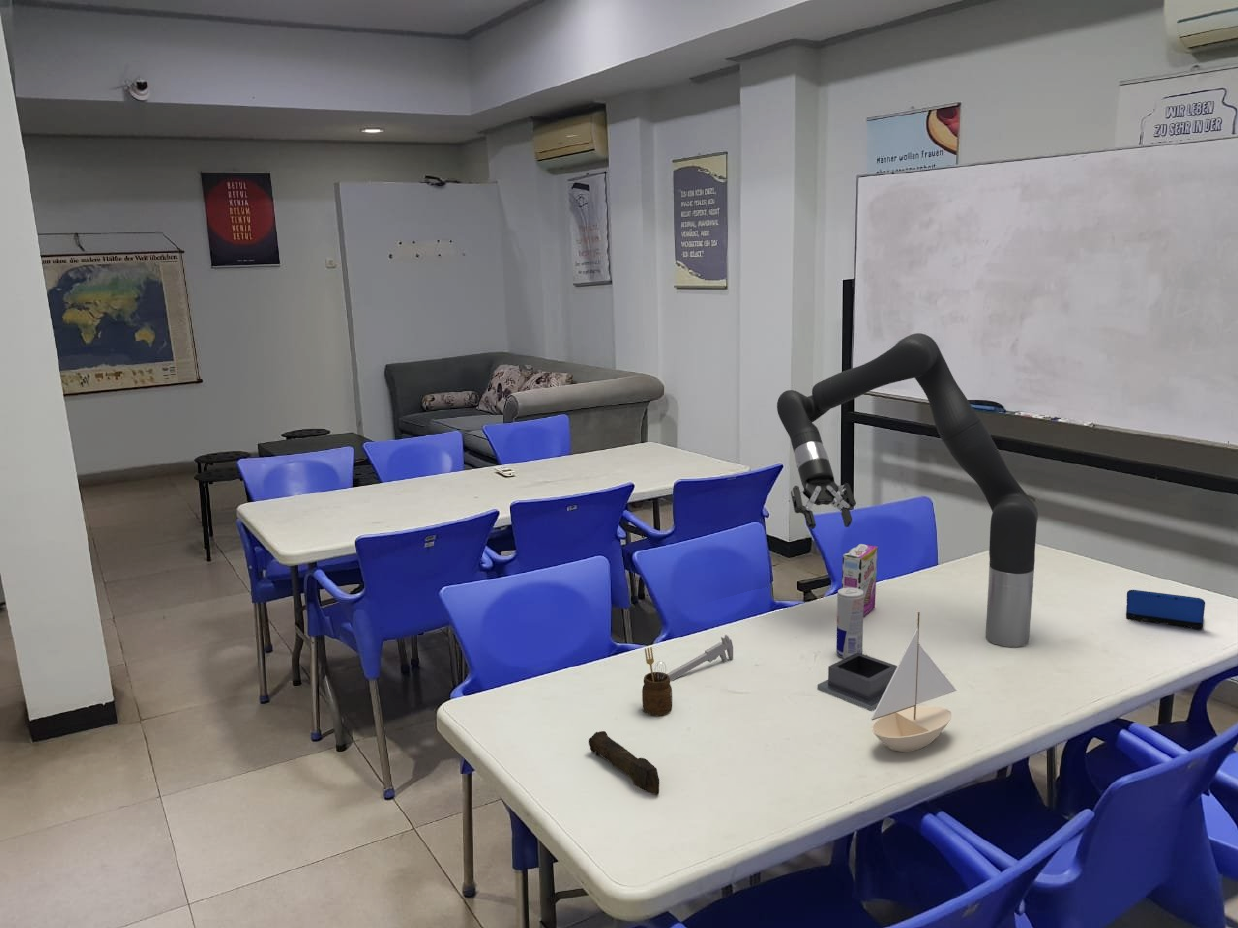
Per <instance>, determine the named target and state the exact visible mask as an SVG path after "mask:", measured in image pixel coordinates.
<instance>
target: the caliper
mask: <svg viewBox="0 0 1238 928" xmlns="http://www.w3.org/2000/svg"><path fill="white" fill-rule="evenodd" d="M720 639H721V642H718V643H716V644H715V645H712V646H711V647H709V648H707V649H705V650H704V652H703V653H701V654H700V655H698V656H696V657H694V658H692V659H690V660H689V661H687V662H686V663H683V664H681V665H680V666H678V667H677V668H675V669H673V670H671V671H669V672H666V674H668V675H669V677H670V682H672V681H674V680H675V679H677V678H679V677H681V676H683V675H684V674H686V673H687V672H690V671H691V670H693V669H695V668H696V667H699V666H701V665H702V664H703V663H705V662H709V663H712V662H713V661H715V660H716V659H717V658H719V657H720V659H721V661H722V662H724V663H728V660H731V661H733V659H734V645H733V641H732V639H731V638H730V637H729V635H728V634H725V635H724V637H722V636H721V637H720ZM726 653H727V654H726ZM727 657H728V658H727ZM727 659H728V660H727Z"/></svg>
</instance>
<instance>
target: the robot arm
mask: <svg viewBox="0 0 1238 928" xmlns="http://www.w3.org/2000/svg"><path fill="white" fill-rule="evenodd" d="M911 379H914V380H915V381H916V382H917V383H918V385H919V386H920V388H921V390H922V391H923V392H924V394H925V397H926V398H927V401H928V404H929V406H930V410H931V414H932V418H933V421H934V424H935V428H936V430H937V433H938V435H939V436H940V439H941V441H942V442H943V444H944V445H945V447H946V449H947V450H948V452H949V453H950V455H951V456H952V457H953V459H954V460H955V462H956V463H957V464H958V465H959V466H960V467H961V469H963V470H964V472H965V473H967V474H968V476H969V477H971V478H972V480H973V481H975V483H976V484H977V485H978V487H979V489H980V491H981V493H982V494H983V495H984V497H985V498H986V501H987V503H988V505H989V507H990V510H991V512H992V514H991V519H990V528H989V547H988V549H989V552H988V555H989V563H988V564H989V566H988V585H987V586H988V587H987V588H988V589H987V601H986V602H987V603H986V619H985V622H986V623H985V635H984V636H985V639H986V640H987V641H988V642H989V643H992V644H994V645H998V646H1002V647H1007V648H1009V647H1010V648H1019V647H1024V646H1027V645H1029V643H1030V637H1031V624H1032V623H1031V621H1032V610H1033V609H1032V608H1033V606H1032V605H1033V592H1034V591H1033V589H1034V573H1035V560H1036V559H1035V557H1036V555H1035V554H1036V553H1035V552H1036V539H1037V538H1036V537H1037V525H1038V519H1039V516H1038V515H1039V514H1038V513H1039V512H1038V509H1037V507H1036V505H1035V503H1034V502H1033V501H1032V499H1031V498H1030V497H1029V496H1028V494H1027V492H1025V491H1024V489H1023V488H1022V487H1021V485H1020V484H1019V482H1018V481H1017V480H1016V479H1015V477H1014V476H1013V475H1012V473H1011V472H1010V470H1009V469H1008V465H1006V463H1005V461H1004V458H1003V457H1002V455H1001V452H1000V451H999V449H998V447H997V445H996V443H995V441H994V440H993V438H992V436H991V434H990V433H989V430H988V429H987V428H986V426H985V425H984V423H983V421H982V419H981V418H980V416H979V415H978V414H977V412H976V411H975V409H974V407H973V406H972V404H971V402H970V401H969V400H968V398H967V397H966V395H965V394H964V392H963V390H962V389H961V387H960V386H959V385H958V383H957V382H956V379H955V378H954V376H953V374H952V372H951V371H950V368H949V366H948V364H947V362H946V360H945V358H944V355H943V353H942V351H941V349H940V346H939V345H938V343H937V342H936V341H935V340H934V339H933V338H932V337H931V336H929V335H927V334H926V333H921V332H917V333H913V334H909V335H908V336H905V337H904V338H903V339H901V340H899V341H898V342H897V343H896V344H895V345H894V346H892V347H890V348H889V349H888V350H886V351H885V352H883V353H882V354H881V355H879V356H877V357H875V358H873V359H872V360H870V361H867V362H865V363H863V364H861V365H859V366H855V367H851V368H849V369H847V370H844V371H840V372H839V373H836V374H834V375H832V376H829V377H827V378H825V379H822V380H821V381H819V382H816V383H815V384H814V385H813V386H812V389H811V395H809V396H807V395H804V394H802V393H801V392H799V391H797V390H793V389H789V390H784V392H782V393H781V394H780V395H779V397H778V398H777V402H776V411H777V415H778V418H779V420H780V422H781V423H782V425H783V428H784V429H785V431H786V433H787V435H788V436H789V438H790V443H791V445H792V449H793V454H794V459H795V460H794V461H795V466H796V468H797V472H798V475H799V479H800V482H801V486H802V487H799V486H798V485H794V486H793V488H792V489H791V490H790V495H791V500H792V505H793V510H794V513H796V514H802V515H803V516H804V520H805V524H806V526H807V528H809V529H810V530H814V529H815V528H816V527H817V523H816V520H815V516H814V512H813V510H812V508H813V506H814V504H815V505H816V506H821V505H825V506H826V505H827V506H829V505H831V506H832V507H834V508H837V510H839V511H840V514H841V518H842V520H843V524H844V527H845V528H848V527H850V526H851V525H852V523H853V517H852V513H851V511H852V510H853V509H854V507H855V506H856V505H857V501H856V499H855V496H854V494H853V491H852V488H851V486H850V484H849V483H848V482H845V483H844V484H841V485H838V484H837V483H836V482H835V477H834V472H833V470H832V466H831V463H830V459H829V456H828V454H827V450H826V448H825V446H824V442H823V440H822V436H821V434H820V431H819V428H818V427H817V426H816V425H815V424H814V422H816V421H817V420H819V419H820V418H821V417H822V416H824V415H825V414H826V413H828V412H829V411H830V410H831V409H834V408H836V407H839V406H841V405H844V404H845V403H848V402H850V401H853V400H854V399H856V398H858V397H860V396H863V395H864V394H867V393H868V392H871V391H873V390H875V389H878V388H880V387H885V386H887V385H890V384H893V383H894V384H895V383H898V382H901V381H906V380H911ZM838 492H839V493H838ZM803 495H804V497H806V498H807V499H808V500H807V502H806V503H805V505H804V504H803V500H802V496H803Z"/></svg>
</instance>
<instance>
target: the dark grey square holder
mask: <svg viewBox="0 0 1238 928" xmlns="http://www.w3.org/2000/svg"><path fill="white" fill-rule="evenodd" d="M897 666H898V665H896V664H892V663H889V662H888V661H887V662H886V661H885V660H880V659H878V658H875V657H874V656H873V657H872V656H870V655H867V654H863V653H862V654H861V653H858V652H857V653H855V654H853V655H851V656H849V657H847V658H843V659H842V660H839V661H837V662H834V663H832V664H831V665H829V666H828V669H827V677H828V678H827V679H826V680H824V681H821V683H818V684H817V690H818V691H822V693H823V692H824V693H826V694H828V695H831V696H834V697H836V698H837V699H838V698H839V699H841V700H844V701H846V702H849V703H851V704H853V705H857V706H859V707H861V708H864V709H866V710H869V711H871V712H872V711H873V710H874V711H875V710H876V708H877V706H878V704H879V702H880V700H881V698H882V696H883V694H884V692H885V690H886V688H887V686H888V684H889V682H890V680H891V678H892V676H893V674H894V672H895V670H896V668H897Z"/></svg>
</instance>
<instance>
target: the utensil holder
mask: <svg viewBox="0 0 1238 928" xmlns="http://www.w3.org/2000/svg"><path fill="white" fill-rule="evenodd" d="M644 653H645V661H646V664H647V665H649V670H650V672H649V673H647V674H645V675H644V678H643V686H642V689H641V690H642V691H641V693H642V695H641V696H642V697H641V698H642V699H641V701H642V710H643V712H644V713H645V714H647V715H649V716H652V717H663V716H666V715H668V714H670V713H671V711H672V709H673V690H672V689H673V687H672V685H671V681H670V677H669V675H668V674H667V672H665V671H664V670H667V665H666V663H665V662H663V661H658V662H656V663H655V664H654V662H655V659H654V652H653V648H652V646H650V647H647V648H644ZM653 664H654V666H656V667H654V669H653V666H652V665H653ZM659 664H660V665H663V666H664V668H665V669H664V668H661V670H660V671H657V668H659V669H660V666H659ZM658 666H659V667H658ZM653 670H654V671H653Z"/></svg>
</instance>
